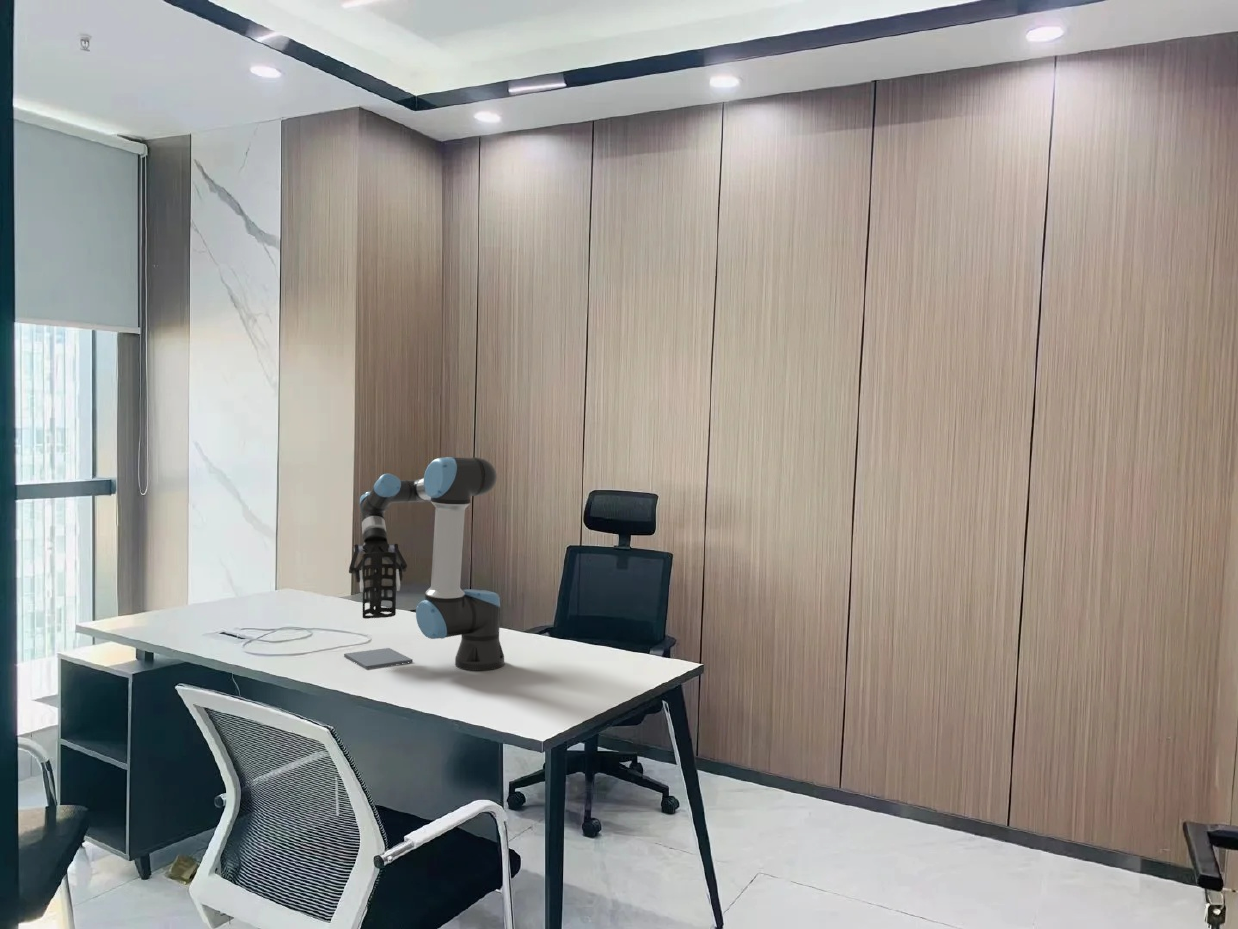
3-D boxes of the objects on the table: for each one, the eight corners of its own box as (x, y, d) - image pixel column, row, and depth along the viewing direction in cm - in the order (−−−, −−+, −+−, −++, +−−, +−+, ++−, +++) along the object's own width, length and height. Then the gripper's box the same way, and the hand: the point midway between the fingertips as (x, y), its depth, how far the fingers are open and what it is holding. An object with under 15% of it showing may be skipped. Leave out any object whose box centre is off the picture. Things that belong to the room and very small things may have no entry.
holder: (368, 620, 272) (369, 555, 272) (355, 616, 278) (356, 553, 277) (399, 616, 280) (401, 553, 280) (386, 612, 286) (388, 550, 285)
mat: (412, 662, 277) (412, 659, 277) (366, 669, 268) (366, 666, 268) (388, 650, 291) (388, 647, 291) (344, 656, 282) (344, 653, 282)
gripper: (408, 539, 297) (416, 594, 283) (336, 541, 288) (340, 597, 274) (411, 525, 292) (419, 580, 278) (338, 526, 283) (343, 583, 269)
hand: (380, 589), depth 276 cm, fingers closed on holder, 10 cm apart
